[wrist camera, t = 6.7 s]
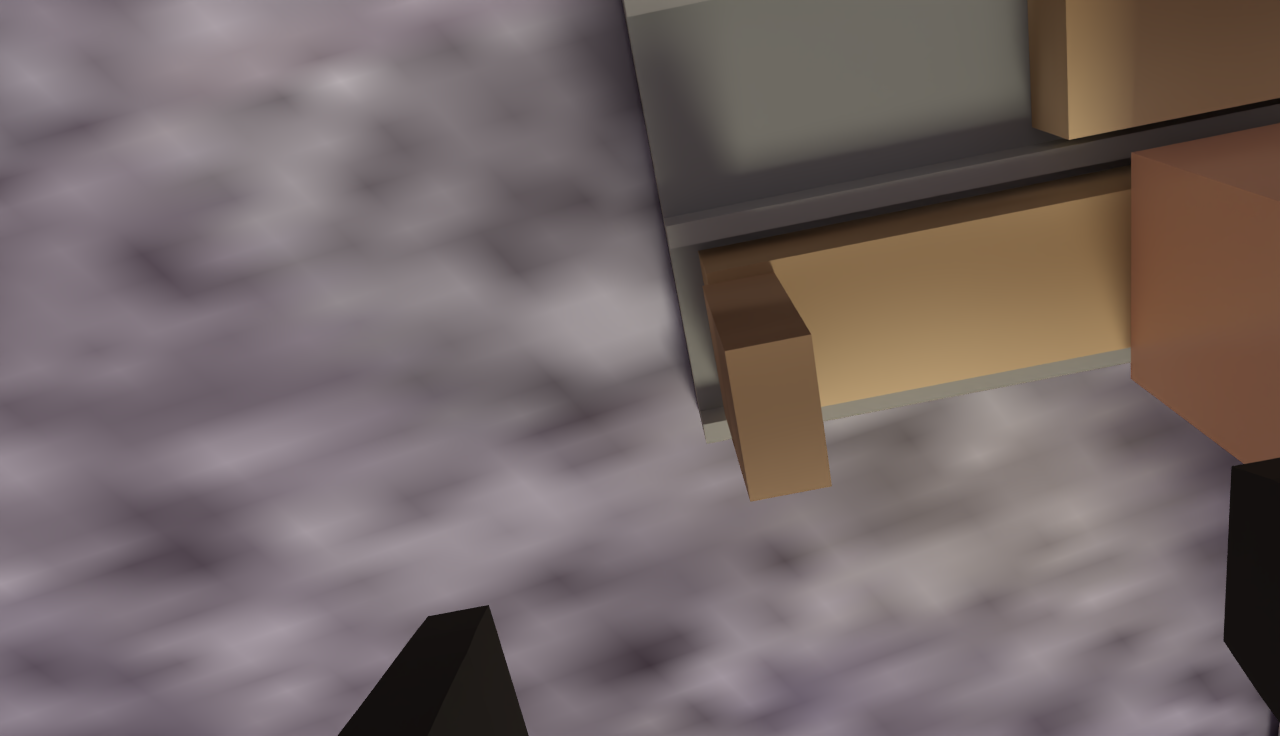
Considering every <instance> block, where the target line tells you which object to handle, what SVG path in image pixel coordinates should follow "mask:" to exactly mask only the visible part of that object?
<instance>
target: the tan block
mask: <svg viewBox="0 0 1280 736" xmlns="http://www.w3.org/2000/svg"><path fill="white" fill-rule="evenodd" d="M1027 4H1028V31H1029V58H1030V86H1031V113H1032V127H1033V128H1036V129H1039V130H1042V131H1045V132H1047V133H1050V134H1053V135H1056V136H1059V137H1062V138H1065V139H1068V140H1071V139H1076V138H1081V137H1086V136H1091V135H1096V134H1101V133H1106V132H1111V131H1116V130H1121V129H1126V128H1131V127H1136V126H1141V125H1146V124H1151V123H1156V122H1161V121H1166V120H1171V119H1176V118H1181V117H1186V116H1191V115H1196V114H1201V113H1206V112H1211V111H1216V110H1221V109H1226V108H1231V107H1236V106H1241V105H1246V104H1251V103H1256V102H1261V101H1266V100H1271V99H1276V98H1280V0H1027Z"/></svg>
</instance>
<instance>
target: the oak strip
mask: <svg viewBox="0 0 1280 736" xmlns="http://www.w3.org/2000/svg"><path fill="white" fill-rule="evenodd" d="M698 254H699V259H700V265H701V271H702V276H703V282H704V286H702V287H703V292H704V298H705V304H706V310H707V315H708V321H709V327H710V332H711V338H712V344H713V349H714V355H715V361H716V366H717V372H718V378H719V383H720V389H721V395H722V400H723V406H724V412H725V416H726V420H727V423H728V427H729V430H730V433H731V437H732V440H733V444H734V447H735V451H736V454H737V457H738V461H739V464H740V468H741V471H742V474H743V478H744V481H745V485H746V488H747V492H748V495H749V498H750V502H751V501H756V500H761V499H767V498H772V497H777V496H783V495H788V494H793V493H798V492H804V491H809V490H814V489H819V488H825V487H830V486H832V485H831V477H830V470H829V462H828V455H827V447H826V440H825V432H824V425H823V417H822V410H821V407H824V406H829V405H834V404H839V403H844V402H850V401H855V400H860V399H865V398H870V397H876V396H881V395H886V394H891V393H896V392H902V391H907V390H912V389H917V388H922V387H928V386H933V385H938V384H943V383H948V382H953V381H959V380H964V379H969V378H974V377H979V376H985V375H990V374H995V373H1000V372H1005V371H1011V370H1016V369H1021V368H1026V367H1031V366H1037V365H1042V364H1047V363H1052V362H1057V361H1063V360H1068V359H1073V358H1078V357H1083V356H1089V355H1094V354H1099V353H1104V352H1109V351H1115V350H1120V349H1125V348H1130V347H1131V165H1128V166H1123V167H1118V168H1113V169H1108V170H1102V171H1097V172H1092V173H1087V174H1082V175H1077V176H1072V177H1067V178H1062V179H1057V180H1052V181H1047V182H1042V183H1037V184H1032V185H1027V186H1022V187H1017V188H1012V189H1007V190H1002V191H997V192H992V193H987V194H982V195H977V196H972V197H967V198H962V199H957V200H952V201H947V202H942V203H937V204H931V205H926V206H921V207H916V208H911V209H906V210H901V211H896V212H891V213H886V214H881V215H876V216H871V217H866V218H861V219H856V220H851V221H846V222H841V223H836V224H831V225H826V226H821V227H816V228H811V229H806V230H801V231H796V232H791V233H786V234H781V235H776V236H771V237H766V238H760V239H755V240H750V241H745V242H740V243H735V244H730V245H725V246H720V247H715V248H710V249H705V250H700V251H698Z"/></svg>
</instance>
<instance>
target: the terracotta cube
mask: <svg viewBox="0 0 1280 736" xmlns="http://www.w3.org/2000/svg"><path fill="white" fill-rule="evenodd" d="M1131 379H1132V380H1133V381H1135V382H1136V383H1137V384H1139V385H1140V386H1141V387H1143V388H1144V389H1145V390H1147V391H1148V392H1149V393H1151V394H1152V395H1153V396H1154V397H1156V398H1157V399H1158V400H1160V401H1161V402H1162V403H1164V404H1165V405H1166V406H1168V407H1169V408H1170V409H1172V410H1173V411H1174V412H1176V413H1177V414H1178V415H1180V416H1181V417H1182V418H1184V419H1185V420H1186V421H1188V422H1189V423H1190V424H1192V425H1193V426H1194V427H1196V428H1197V429H1198V430H1200V431H1201V432H1202V433H1204V434H1205V435H1206V436H1208V437H1209V438H1210V439H1212V440H1213V441H1214V442H1216V443H1217V444H1218V445H1220V446H1221V447H1222V448H1224V449H1225V450H1226V451H1227V452H1229V453H1230V454H1231V455H1233V456H1234V457H1235V458H1237V459H1238V460H1239V461H1241V462H1242V463H1243V464H1247V463H1253V462H1258V461H1263V460H1269V459H1274V458H1279V457H1280V123H1277V124H1272V125H1267V126H1262V127H1257V128H1252V129H1247V130H1242V131H1237V132H1232V133H1227V134H1222V135H1217V136H1212V137H1207V138H1202V139H1197V140H1192V141H1187V142H1182V143H1177V144H1172V145H1167V146H1162V147H1157V148H1152V149H1147V150H1142V151H1136V152H1131Z"/></svg>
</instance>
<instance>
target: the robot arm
mask: <svg viewBox="0 0 1280 736" xmlns="http://www.w3.org/2000/svg"><path fill="white" fill-rule="evenodd" d="M1224 642H1225V644H1226V645H1227V647H1228V648H1229V650H1230V651H1231V653H1232V654H1233V656H1234V657H1235V659H1236V660H1237V662H1238V663H1239V665H1240V666H1241V668H1242V669H1243V671H1244V672H1245V674H1246V675H1247V677H1248V678H1249V680H1250V681H1251V683H1252V684H1253V686H1254V687H1255V689H1256V690H1257V692H1258V693H1259V694H1260V696H1261V697H1262V699H1263V700H1264V701H1265V703H1266V704H1267V706H1268V707H1269V708H1270V710H1271V711H1272V713H1273V714H1274V715H1275V717H1276V718H1277V719H1278V721H1279V735H1278V736H1280V457H1279V458H1274V459H1269V460H1263V461H1258V462H1253V463H1247V464H1242V465H1237V466H1232V469H1231V490H1230V512H1229V534H1228V555H1227V577H1226V598H1225V620H1224ZM338 736H529V735H528V732H527V729H526V726H525V722H524V719H523V716H522V712H521V709H520V706H519V703H518V699H517V696H516V693H515V689H514V686H513V683H512V680H511V676H510V673H509V670H508V667H507V663H506V660H505V657H504V653H503V650H502V647H501V644H500V640H499V637H498V634H497V631H496V627H495V624H494V621H493V617H492V614H491V611H490V608H489V605H487V606H481V607H476V608H470V609H465V610H460V611H454V612H449V613H444V614H438V615H433V616H428V617H427V618H426V620H425V621H424V622H423V623H422V625H421V626H420V627H419V628H418V630H417V631H416V632H415V634H414V635H413V636H412V638H411V639H410V640H409V642H408V643H407V644H406V646H405V647H404V648H403V650H402V651H401V652H400V654H399V655H398V656H397V658H396V659H395V660H394V662H393V663H392V664H391V666H390V667H389V668H388V670H387V671H386V672H385V674H384V675H383V676H382V678H381V679H380V680H379V682H378V683H377V685H376V686H375V687H374V689H373V690H372V691H371V693H370V694H369V695H368V697H367V698H366V699H365V701H364V702H363V703H362V705H361V706H360V707H359V709H358V710H357V711H356V712H355V714H354V715H353V716H352V718H351V719H350V720H349V721H348V723H347V724H346V725H345V727H344V728H343V729H342V731H341V732H340V733H339V734H338Z"/></svg>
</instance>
